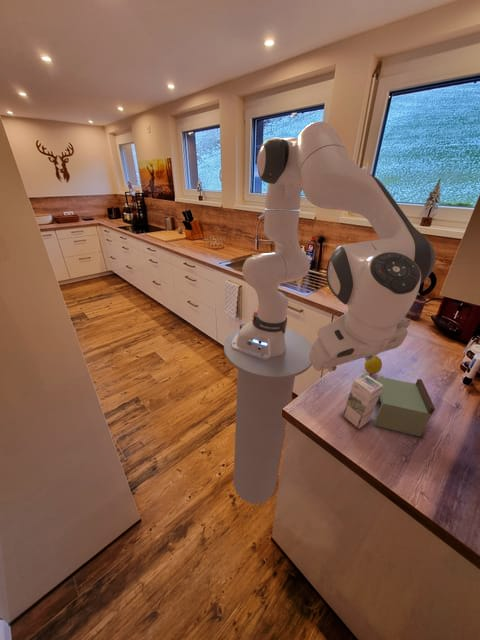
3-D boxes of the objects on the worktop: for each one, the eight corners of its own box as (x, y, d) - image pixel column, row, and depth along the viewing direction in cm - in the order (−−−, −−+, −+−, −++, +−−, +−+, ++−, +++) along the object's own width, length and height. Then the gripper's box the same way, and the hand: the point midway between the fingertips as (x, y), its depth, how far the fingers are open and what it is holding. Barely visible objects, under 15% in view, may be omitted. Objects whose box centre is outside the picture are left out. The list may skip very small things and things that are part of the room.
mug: (420, 321, 135) (429, 300, 129) (405, 318, 138) (413, 297, 132) (417, 313, 144) (425, 293, 138) (402, 310, 146) (410, 290, 140)
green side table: (374, 425, 77) (385, 398, 71) (368, 396, 87) (378, 370, 82) (420, 436, 74) (435, 408, 69) (409, 405, 84) (421, 379, 79)
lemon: (378, 380, 94) (385, 362, 90) (362, 376, 96) (368, 358, 92) (377, 371, 99) (384, 353, 95) (362, 367, 100) (367, 350, 97)
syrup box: (370, 421, 78) (384, 384, 71) (357, 429, 75) (371, 392, 68) (353, 408, 82) (366, 372, 75) (341, 416, 79) (353, 379, 72)
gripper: (404, 304, 54) (381, 340, 65) (310, 331, 52) (303, 363, 63) (425, 328, 50) (397, 362, 61) (324, 357, 48) (314, 387, 59)
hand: (349, 362), depth 62 cm, fingers open, 8 cm apart
